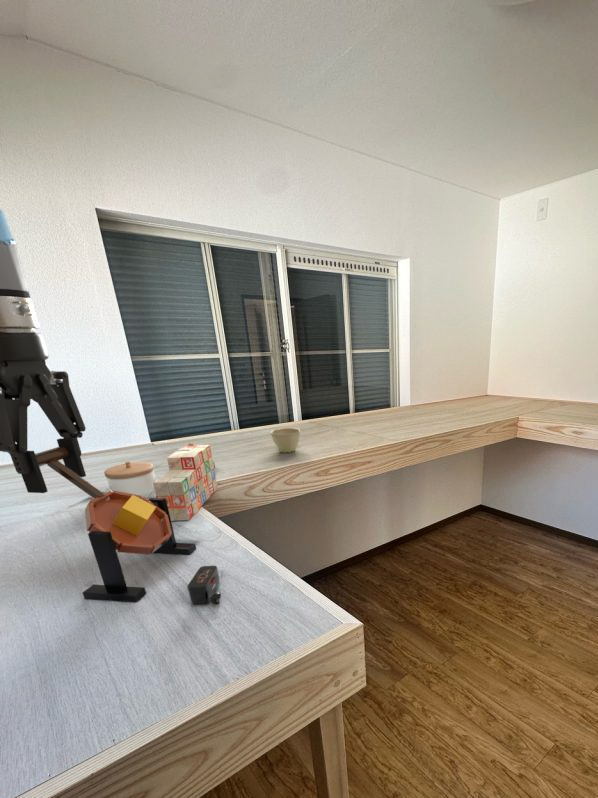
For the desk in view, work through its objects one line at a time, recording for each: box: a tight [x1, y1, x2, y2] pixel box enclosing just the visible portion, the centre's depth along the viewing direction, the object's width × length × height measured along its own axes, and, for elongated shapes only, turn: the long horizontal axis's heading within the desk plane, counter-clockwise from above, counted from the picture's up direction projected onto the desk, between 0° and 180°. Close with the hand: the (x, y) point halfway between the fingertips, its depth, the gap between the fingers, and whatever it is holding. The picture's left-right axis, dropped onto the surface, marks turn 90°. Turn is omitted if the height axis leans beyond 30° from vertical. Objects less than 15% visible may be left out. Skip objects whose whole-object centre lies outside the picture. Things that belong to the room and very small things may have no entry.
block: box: [113, 495, 156, 536], centre depth 69 cm, size 4×4×4 cm
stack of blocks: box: [153, 444, 218, 522], centre depth 100 cm, size 21×6×12 cm, turn 4°
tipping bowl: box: [35, 446, 172, 556], centre depth 68 cm, size 23×13×2 cm
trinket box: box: [103, 461, 156, 499], centre depth 105 cm, size 11×11×9 cm
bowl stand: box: [81, 497, 197, 603], centre depth 71 cm, size 9×18×11 cm, turn 173°
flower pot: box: [270, 427, 301, 453], centre depth 147 cm, size 10×10×7 cm
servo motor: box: [187, 565, 222, 606], centre depth 66 cm, size 5×7×3 cm, turn 3°
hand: (58, 483), depth 68 cm, fingers closed on tipping bowl, 7 cm apart
